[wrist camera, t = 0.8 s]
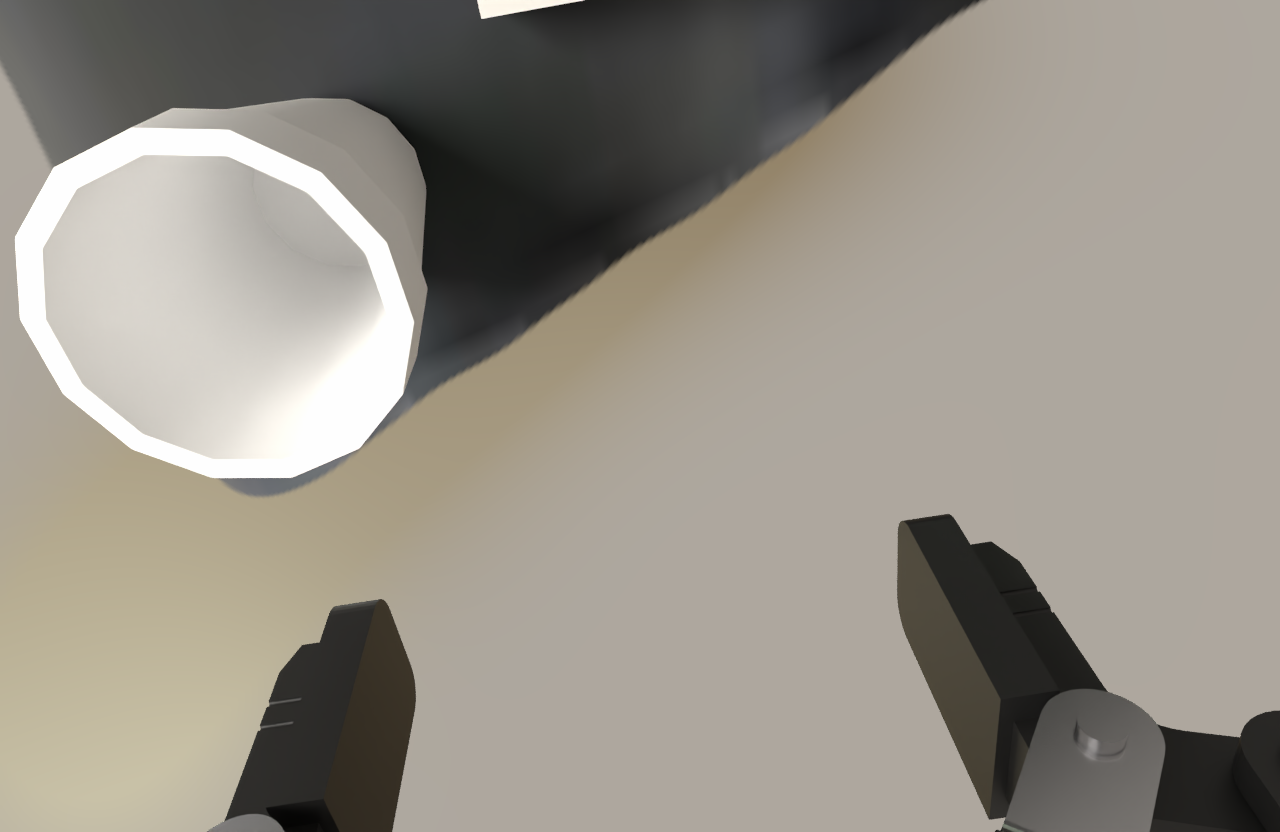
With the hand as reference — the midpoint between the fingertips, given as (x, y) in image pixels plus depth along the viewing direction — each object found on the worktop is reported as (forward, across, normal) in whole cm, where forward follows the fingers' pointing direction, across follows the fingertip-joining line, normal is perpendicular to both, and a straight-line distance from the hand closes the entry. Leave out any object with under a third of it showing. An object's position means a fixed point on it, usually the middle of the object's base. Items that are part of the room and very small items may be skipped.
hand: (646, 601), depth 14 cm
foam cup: (+24, +10, -1) cm, 26 cm away
